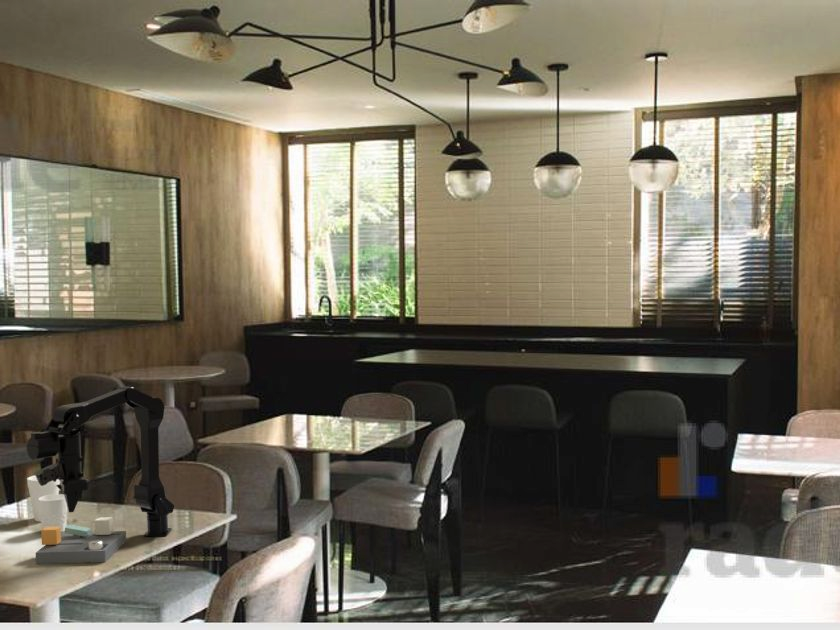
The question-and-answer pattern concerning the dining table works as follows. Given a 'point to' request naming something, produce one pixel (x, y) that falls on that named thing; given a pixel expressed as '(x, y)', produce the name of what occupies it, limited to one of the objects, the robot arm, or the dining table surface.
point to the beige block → (104, 526)
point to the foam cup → (40, 493)
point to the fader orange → (51, 535)
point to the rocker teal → (77, 530)
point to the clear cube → (96, 545)
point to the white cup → (53, 511)
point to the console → (80, 548)
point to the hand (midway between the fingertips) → (71, 512)
